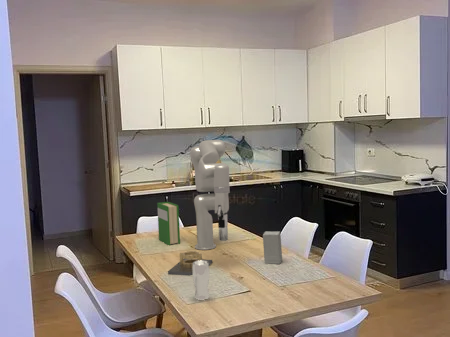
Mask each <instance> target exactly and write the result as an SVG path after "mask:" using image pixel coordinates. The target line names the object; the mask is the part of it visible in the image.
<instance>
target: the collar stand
mask: <svg viewBox="0 0 450 337" xmlns="http://www.w3.org/2000/svg"><path fill="white" fill-rule="evenodd" d="M199 260H204V261H208V262H209V267H210V266H211V265H212V264H213V259H207V258H205V259H204V258H202V253H199V252H198V251H185V252H180V253H179V262H177V264H175V265H174V266H173V267H171V268H170V269H169V270H168V271H167V274H168V275H174V276H176V275H177V276H190V275H193V273H192V269H193V262H195V261H199Z"/></svg>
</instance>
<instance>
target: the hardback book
mask: <svg viewBox="0 0 450 337" xmlns="http://www.w3.org/2000/svg"><path fill="white" fill-rule="evenodd" d="M156 205H157V224H158V225H157V226H158V229H157V230H158V241H160V242H162V243H163V242H164V244H165V245H167V246H168V245H170V246H171V245H174V244H178V245H180V244H181V236H180V234H181V233H180V231H181V230H180V209H179V205H178V204H176V203H173V202H169V201H164V202H163V201H162V202H157V203H156Z"/></svg>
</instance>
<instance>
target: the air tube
mask: <svg viewBox="0 0 450 337" xmlns="http://www.w3.org/2000/svg"><path fill="white" fill-rule="evenodd" d="M221 213H222V212H221ZM224 220H225V228H219V227H218V240H219V241H221V242H224V241H225V242H226V241H228V240H229V236H228V234H229V232H228V231H229V230H228V227H229V226H228V225H227V221H228V211H226V213H224Z"/></svg>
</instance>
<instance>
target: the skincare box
mask: <svg viewBox="0 0 450 337" xmlns="http://www.w3.org/2000/svg"><path fill="white" fill-rule="evenodd" d="M262 243H263V244H262V245H263V256H264V257H263V259H264V264H267V263H268V264H269V265H272V264H273V265H280V264H281V263H282V261H283V251H282V237H281V231H264V232H263V234H262Z"/></svg>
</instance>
